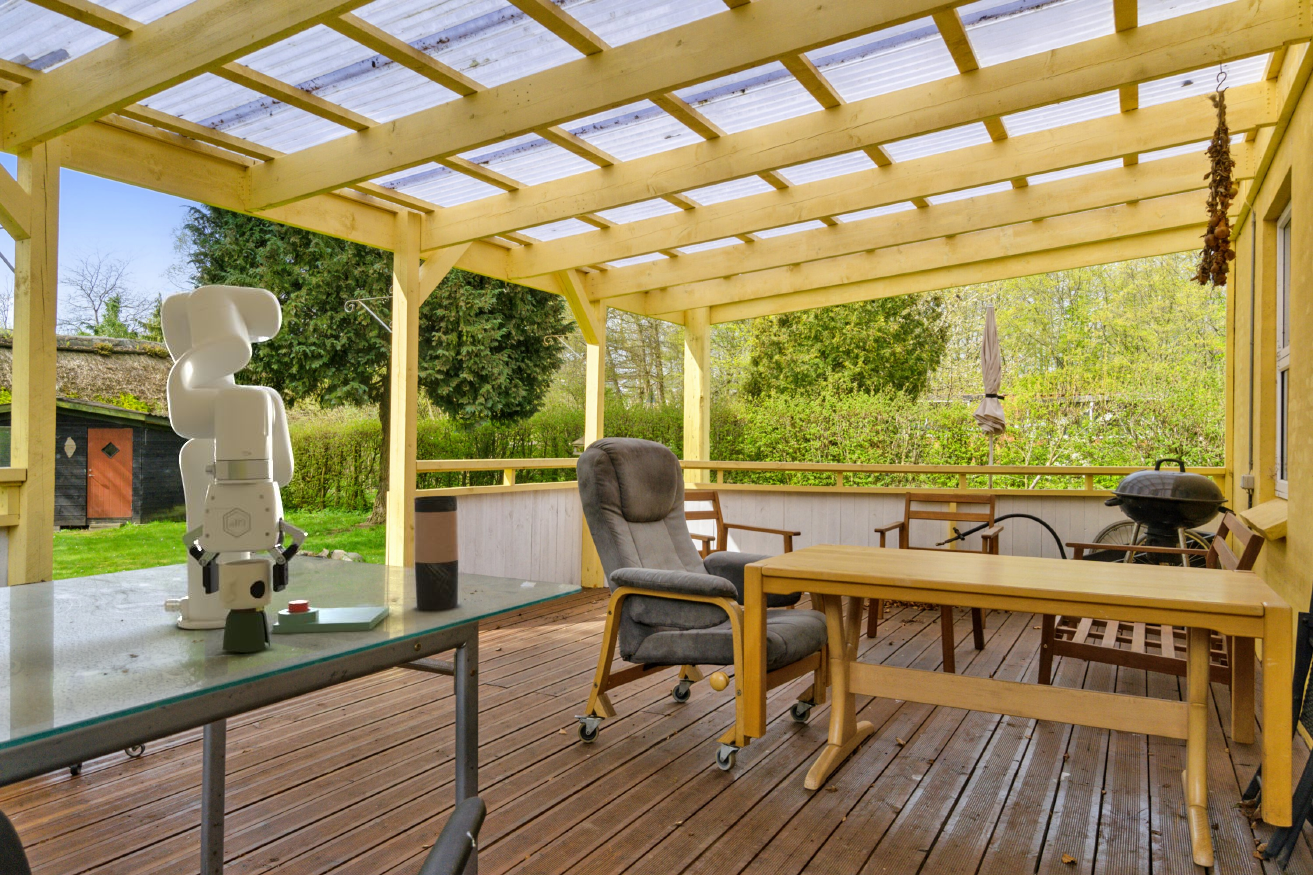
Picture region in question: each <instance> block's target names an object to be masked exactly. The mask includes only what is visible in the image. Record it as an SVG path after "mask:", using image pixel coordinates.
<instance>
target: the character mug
mask: <svg viewBox="0 0 1313 875" xmlns="http://www.w3.org/2000/svg"><path fill="white" fill-rule="evenodd" d="M272 581H273V560H272V559H268V558H250V559H244V560H234V561H227V562H222V563H220V564H219V604H220V607H221V608H225V609H230V612H229V613H228V615H227V618H226V623H225V627H224V631H223V638H222V640H223V641H222V650H223V651H228V652H229V651H230V652H238V654H239V655H242V654H244V653H250V652H257V651H262V650H265V649H266V644H268V647H271V639H270V629H269V622H268V617H267V612H266V611H265V607H266V606H268V605H270V604H272V602H273V600H274V593H273V588H272Z"/></svg>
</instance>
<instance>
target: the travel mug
mask: <svg viewBox="0 0 1313 875" xmlns="http://www.w3.org/2000/svg"><path fill="white" fill-rule="evenodd" d="M413 501H414V503H413V504H414V505H413V506H414V507H413V508H414V512H413V514H414V572H415V573H414V576H415V579H414V580H415V600H416V609H417V610H418V611H421V612H442V611H450V610H454V609H456V608H458V602H459V601H458V600H459V528H458V527H459V524H458V497H457V496H456V495H428V496H415V497H414V498H413Z"/></svg>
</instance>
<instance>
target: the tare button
mask: <svg viewBox="0 0 1313 875" xmlns="http://www.w3.org/2000/svg"><path fill="white" fill-rule="evenodd" d="M309 603H310V602H309V600H307V599H299V600H292V601H289V602H288V609H289V613H300V612H306V611H309V607H310V605H309Z"/></svg>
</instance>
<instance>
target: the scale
mask: <svg viewBox="0 0 1313 875" xmlns="http://www.w3.org/2000/svg"><path fill="white" fill-rule="evenodd" d="M389 614H390V606H384V605H383V606H353V607H351V606H350V607H320V608H319V607H313V606H309V611H306V612H300V613H289V608H286V609H281V610H280V611H278V613H277V620H278V621H277V622H275V623H274V624H272V633H273V634H286V633H288V634H289V633H290V634H291V633H321V632H322V633H323V632H354V631H371V630H372V629H373V628H374V627H375V626H376V625H378V624H379V623H380V622H381V621H382V620H383V619H385V618H386V617H387V616H388V615H389Z"/></svg>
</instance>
